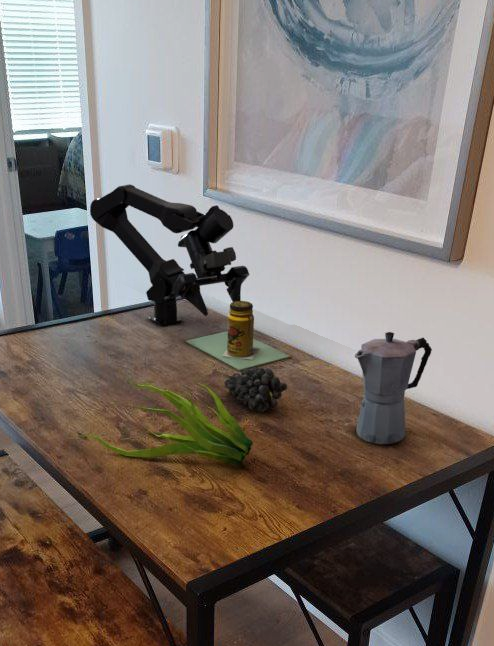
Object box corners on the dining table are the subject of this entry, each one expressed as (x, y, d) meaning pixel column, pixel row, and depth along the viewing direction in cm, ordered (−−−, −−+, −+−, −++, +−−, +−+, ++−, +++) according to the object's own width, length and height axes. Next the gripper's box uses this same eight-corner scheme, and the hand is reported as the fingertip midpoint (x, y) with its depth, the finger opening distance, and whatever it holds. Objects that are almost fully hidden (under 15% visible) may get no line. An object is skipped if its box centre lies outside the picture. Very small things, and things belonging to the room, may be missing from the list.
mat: (185, 341, 174) (185, 340, 174) (234, 330, 181) (234, 329, 181) (239, 370, 158) (239, 369, 158) (290, 357, 165) (290, 356, 165)
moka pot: (332, 430, 133) (344, 328, 123) (398, 416, 139) (415, 317, 129) (361, 452, 126) (376, 346, 116) (430, 437, 131) (451, 334, 121)
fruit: (219, 352, 143) (269, 373, 132) (248, 356, 148) (298, 377, 138) (208, 392, 145) (256, 417, 135) (238, 395, 151) (286, 419, 140)
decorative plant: (135, 414, 139) (132, 343, 131) (258, 463, 122) (263, 384, 115) (65, 448, 127) (57, 371, 119) (192, 506, 110) (192, 422, 103)
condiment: (221, 356, 165) (222, 306, 158) (231, 344, 171) (233, 295, 165) (251, 360, 163) (253, 309, 156) (260, 348, 169) (263, 299, 163)
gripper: (179, 239, 159) (202, 302, 157) (247, 231, 168) (270, 290, 165) (162, 265, 169) (184, 324, 167) (228, 256, 177) (249, 312, 175)
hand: (223, 312), depth 168 cm, fingers open, 9 cm apart
